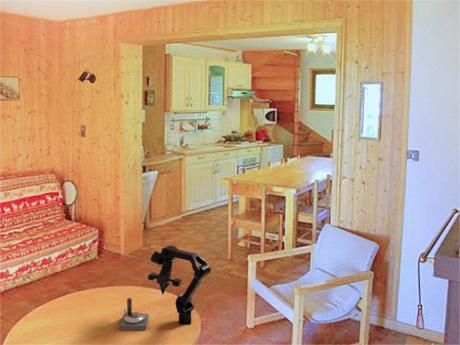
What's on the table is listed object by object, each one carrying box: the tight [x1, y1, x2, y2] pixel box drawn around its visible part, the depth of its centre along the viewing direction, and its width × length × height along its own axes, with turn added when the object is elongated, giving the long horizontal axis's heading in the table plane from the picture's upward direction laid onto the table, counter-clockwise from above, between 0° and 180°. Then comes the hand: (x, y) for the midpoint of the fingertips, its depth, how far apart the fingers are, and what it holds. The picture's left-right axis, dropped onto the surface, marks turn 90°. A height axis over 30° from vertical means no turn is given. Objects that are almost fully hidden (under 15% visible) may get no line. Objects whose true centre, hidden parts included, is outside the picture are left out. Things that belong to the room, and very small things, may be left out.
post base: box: [118, 308, 150, 331], centre depth 275 cm, size 14×14×6 cm
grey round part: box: [124, 297, 145, 324], centre depth 275 cm, size 11×13×10 cm
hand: (162, 293), depth 284 cm, fingers closed
